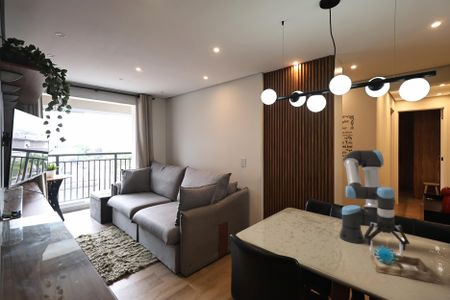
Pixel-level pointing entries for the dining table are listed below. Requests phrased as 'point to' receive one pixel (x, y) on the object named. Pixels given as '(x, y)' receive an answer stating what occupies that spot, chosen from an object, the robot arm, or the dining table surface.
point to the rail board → (404, 268)
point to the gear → (385, 255)
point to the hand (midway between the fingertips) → (385, 253)
